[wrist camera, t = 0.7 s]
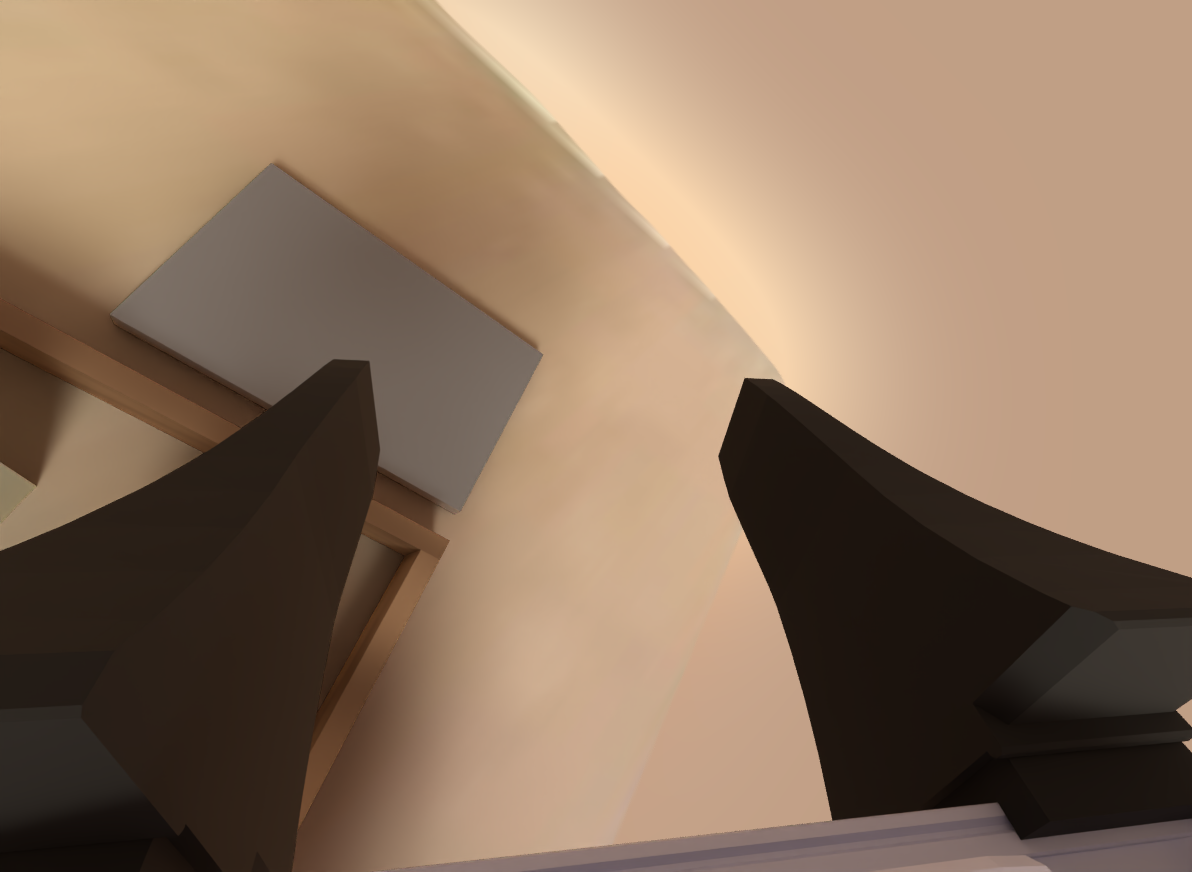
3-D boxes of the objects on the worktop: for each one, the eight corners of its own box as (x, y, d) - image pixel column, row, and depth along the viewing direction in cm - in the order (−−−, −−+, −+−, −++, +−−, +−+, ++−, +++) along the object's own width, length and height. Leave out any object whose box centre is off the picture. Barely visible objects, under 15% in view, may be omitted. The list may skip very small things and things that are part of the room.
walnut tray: (237, 908, 18) (237, 945, 16) (-719, 657, 12) (-926, 666, 9) (431, 547, 24) (449, 540, 22) (-127, 252, 18) (-176, 203, 16)
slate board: (454, 514, 25) (460, 511, 24) (113, 324, 20) (109, 314, 20) (536, 360, 29) (543, 354, 28) (270, 175, 25) (271, 162, 24)
